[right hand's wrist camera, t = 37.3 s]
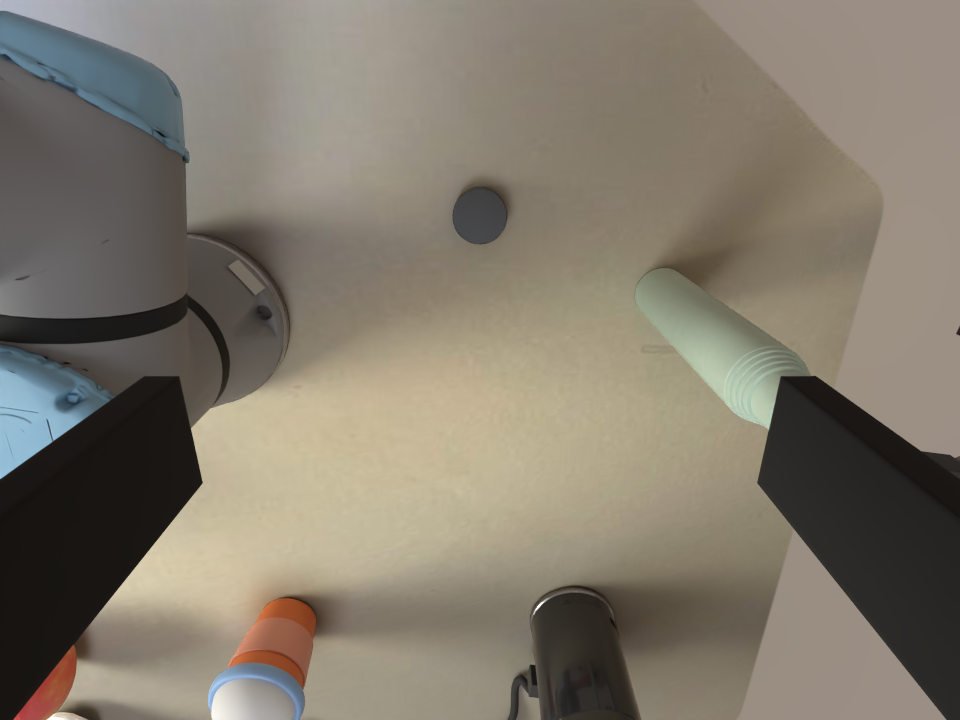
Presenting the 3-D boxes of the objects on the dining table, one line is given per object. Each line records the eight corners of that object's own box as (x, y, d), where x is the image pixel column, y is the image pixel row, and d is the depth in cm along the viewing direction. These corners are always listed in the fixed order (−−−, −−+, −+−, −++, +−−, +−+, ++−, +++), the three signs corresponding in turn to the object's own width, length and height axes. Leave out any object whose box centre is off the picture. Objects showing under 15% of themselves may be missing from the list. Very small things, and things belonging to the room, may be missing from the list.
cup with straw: (337, 597, 62) (285, 767, 46) (321, 654, 65) (266, 832, 49) (256, 578, 61) (171, 744, 45) (243, 637, 64) (160, 812, 48)
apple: (-2, 643, 65) (-82, 727, 55) (35, 595, 62) (-43, 676, 53) (75, 682, 67) (10, 770, 58) (114, 638, 65) (52, 723, 55)
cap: (495, 247, 48) (496, 251, 46) (446, 230, 47) (445, 233, 46) (513, 197, 46) (514, 199, 45) (463, 179, 46) (462, 180, 44)
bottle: (629, 315, 50) (746, 455, 28) (640, 265, 49) (773, 372, 26) (679, 320, 50) (834, 463, 28) (692, 270, 49) (867, 381, 27)
